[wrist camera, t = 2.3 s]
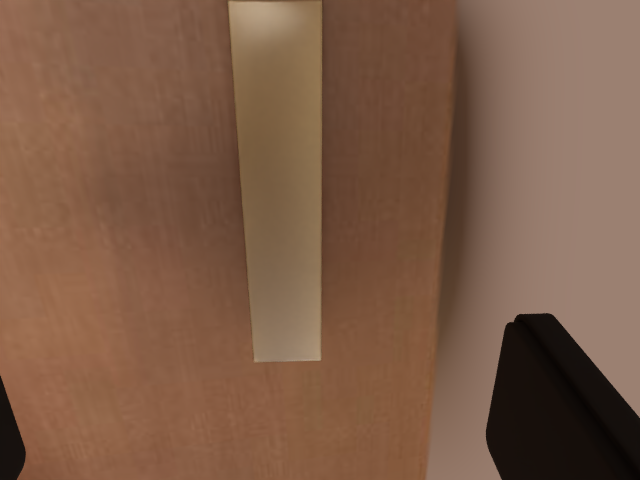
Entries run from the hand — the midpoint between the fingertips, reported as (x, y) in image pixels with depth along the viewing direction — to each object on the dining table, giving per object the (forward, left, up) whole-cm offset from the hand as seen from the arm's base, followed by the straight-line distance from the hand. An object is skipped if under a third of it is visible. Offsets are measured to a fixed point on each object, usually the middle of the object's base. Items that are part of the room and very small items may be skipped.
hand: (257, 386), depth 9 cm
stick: (0, 0, -10) cm, 10 cm away
